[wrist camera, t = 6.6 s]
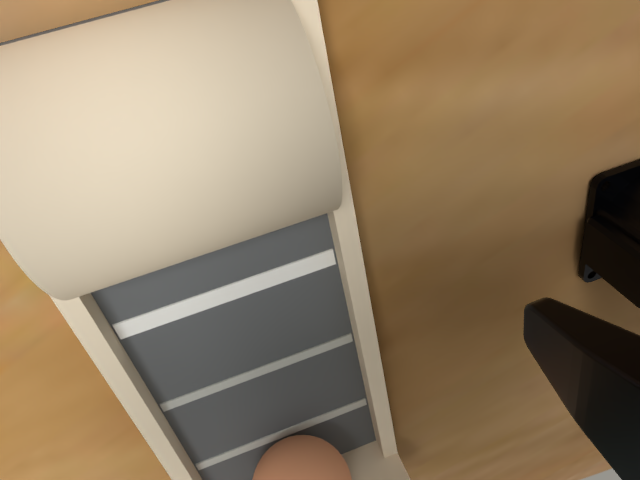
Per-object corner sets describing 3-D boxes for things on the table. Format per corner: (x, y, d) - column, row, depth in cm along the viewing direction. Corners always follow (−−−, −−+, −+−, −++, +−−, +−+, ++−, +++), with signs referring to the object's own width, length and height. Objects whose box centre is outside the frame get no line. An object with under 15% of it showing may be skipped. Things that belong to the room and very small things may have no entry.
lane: (270, -50, 19) (345, -13, 13) (366, 394, 35) (421, 510, 29) (-46, 33, 18) (-134, 120, 12) (201, 459, 33) (220, 595, 27)
